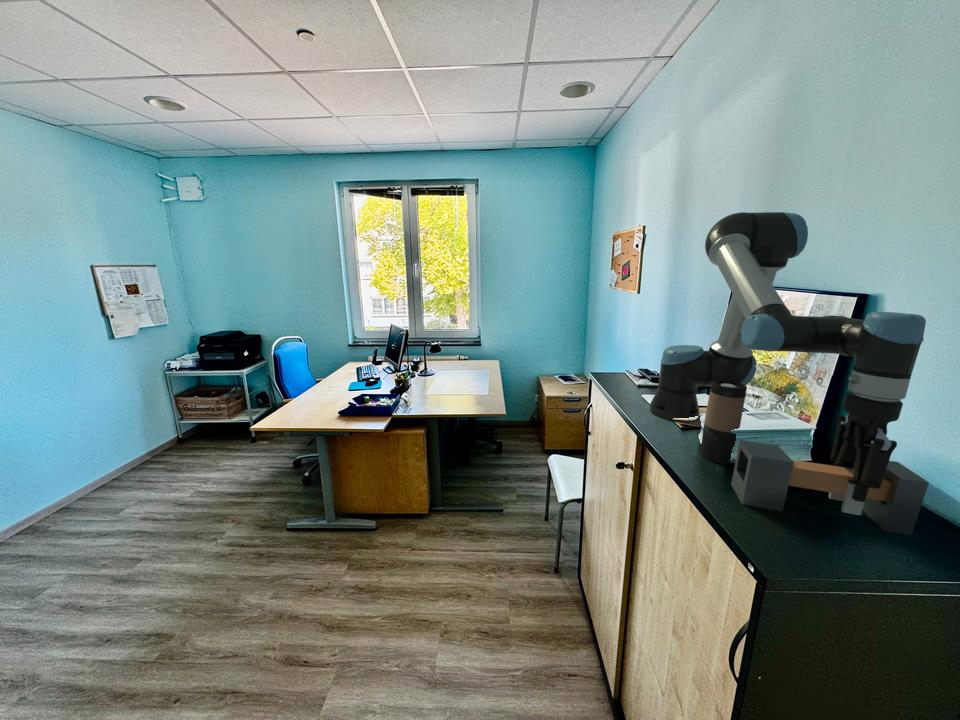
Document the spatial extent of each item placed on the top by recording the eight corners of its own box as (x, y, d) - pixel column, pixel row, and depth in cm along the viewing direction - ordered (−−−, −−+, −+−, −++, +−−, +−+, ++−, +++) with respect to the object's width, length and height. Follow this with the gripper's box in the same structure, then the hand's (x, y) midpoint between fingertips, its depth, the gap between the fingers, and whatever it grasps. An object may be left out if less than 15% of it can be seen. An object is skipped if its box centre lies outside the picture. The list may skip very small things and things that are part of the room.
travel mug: (738, 465, 94) (753, 389, 90) (705, 462, 96) (718, 387, 91) (725, 452, 101) (739, 380, 97) (694, 448, 103) (706, 378, 98)
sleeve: (731, 484, 86) (739, 439, 83) (767, 490, 83) (777, 445, 81) (742, 504, 78) (752, 456, 76) (782, 511, 76) (794, 462, 74)
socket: (858, 506, 78) (872, 458, 76) (883, 510, 77) (897, 461, 75) (883, 530, 71) (900, 478, 68) (911, 535, 70) (928, 482, 67)
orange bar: (755, 471, 82) (759, 454, 81) (886, 492, 75) (891, 474, 74) (762, 481, 78) (766, 463, 77) (900, 504, 71) (906, 484, 70)
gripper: (825, 381, 79) (801, 480, 85) (878, 407, 64) (844, 527, 69) (871, 385, 77) (843, 487, 82) (937, 414, 61) (897, 537, 67)
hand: (843, 505), depth 76 cm, fingers closed on orange bar, 4 cm apart
